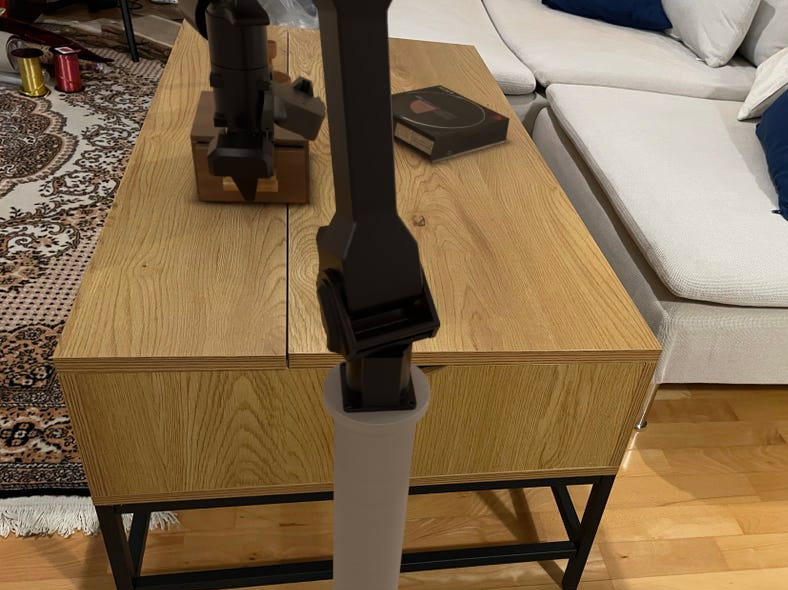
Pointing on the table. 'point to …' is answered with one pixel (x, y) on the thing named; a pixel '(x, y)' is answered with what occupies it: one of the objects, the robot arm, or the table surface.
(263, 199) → the drawer
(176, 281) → the table surface
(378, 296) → the robot arm
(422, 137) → the portable cd player
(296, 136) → the cabinet
